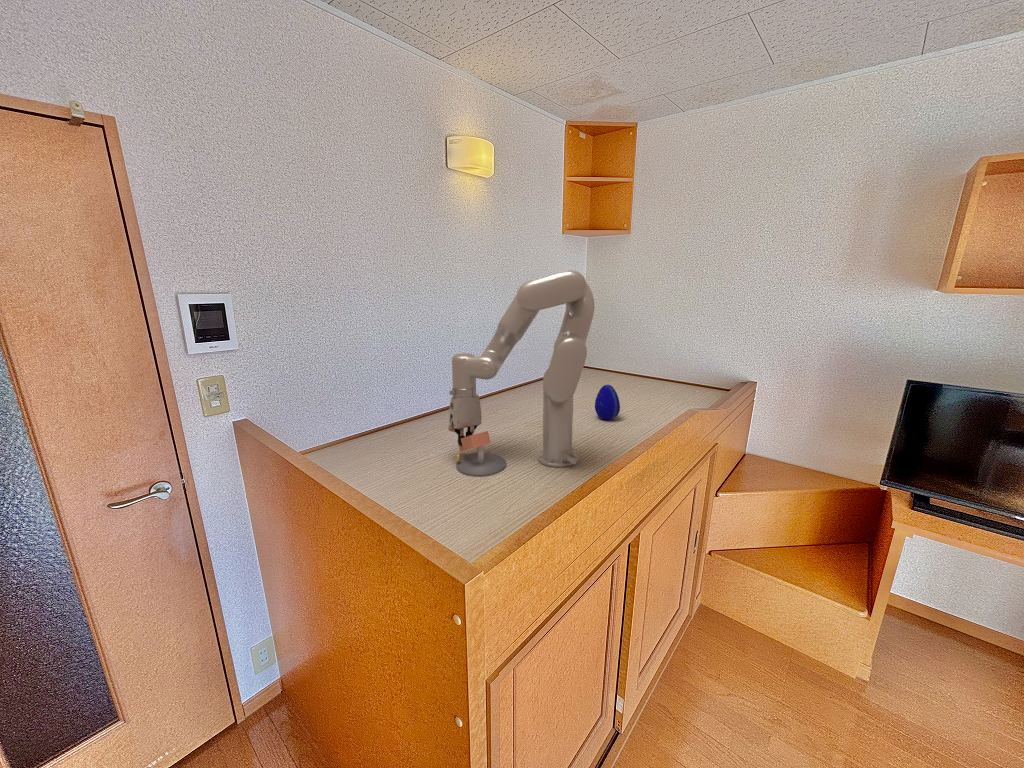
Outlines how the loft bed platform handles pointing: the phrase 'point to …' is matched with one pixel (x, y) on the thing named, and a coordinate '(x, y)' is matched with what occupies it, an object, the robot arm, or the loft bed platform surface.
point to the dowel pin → (458, 458)
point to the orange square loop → (474, 441)
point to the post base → (481, 464)
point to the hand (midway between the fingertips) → (465, 444)
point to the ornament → (607, 403)
